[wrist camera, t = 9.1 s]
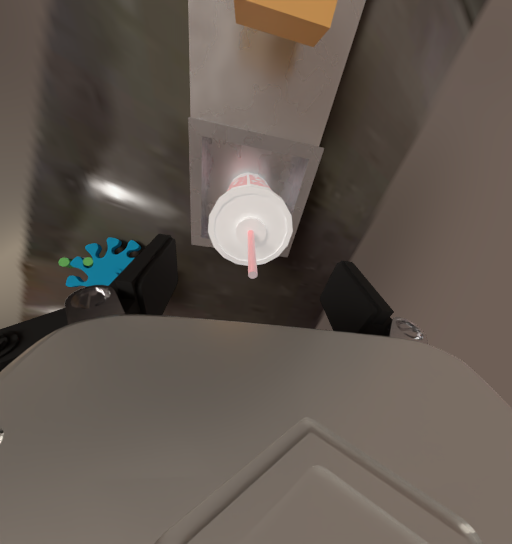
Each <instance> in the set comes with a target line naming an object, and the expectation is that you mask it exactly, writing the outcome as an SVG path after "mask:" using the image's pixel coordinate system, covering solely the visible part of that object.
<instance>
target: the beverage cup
mask: <svg viewBox="0 0 512 544" xmlns="http://www.w3.org/2000/svg"><path fill="white" fill-rule="evenodd" d="M292 232H293V228H292V215H291V214H290V212H289V210H288V208H287V206H286V204H285V203H284V201H283V199H282V198H281V197H280V196H278V195H277V194H276V193H274V192H273V191H272V190H271V188H270V187H269V186H268V184H267V183H266V181H265V180H264V179H263V178H261V177H260V176H259V175H258V174H253V173H244V174H240V175H239V176H237V177H236V178H235V179H233V181H232V183H231V184H230V186H229V188H228V190H227V192H226V193H225V194H223V195H222V196H221V197H219V199H218V200H217V202H216V204H215V206H214V207H213V209H212V211H211V213H210V215H209V224H208V233H209V236H210V239H211V241H212V244H213V246H214V248H215V249H216V250H217V251H218V252H219V253H220V254H221V255H222V256H223V257H224V258H226V259H228V260H230V261H232V262H234V263H236V264H240V265H247V266H248V276H249V277H250V278H252V279H253V278H256V277H257V265H260V264H265V263H267V262H269V261H271V260H273V259H274V258H276V257H278V256H279V255H280V254H281V253H282V251H283V250H284V249H285V248H286V247H287V246H288V243H289V240H290V238H291V235H292Z"/></svg>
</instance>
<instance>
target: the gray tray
mask: <svg viewBox="0 0 512 544" xmlns="http://www.w3.org/2000/svg"><path fill="white" fill-rule="evenodd" d="M365 2H366V0H337V4H336V8H335V12H334V15H333V19H332V23H331V27H330V29H329V30H328V31H327V32H326V33H325V35H324V36H323V37H322V38H321V39H320V40H319V42H318V43H317V44H316V45H315V46H314V47H311V46H308V45H304V44H301V43H298V42H295V41H291V40H288V39H285V38H282V37H278V36H275V35H272V34H269V33H266V32H262V31H259V30H256V29H253V28H249V27H246V26H243V25H240V24H236V19H235V8H234V0H188V7H189V57H190V108H191V117H188V121H189V160H190V200H191V239H192V245H199V246H207V247H214V246H213V244H212V241H211V239H210V236H209V233H208V224H209V215H210V213H211V211H212V209H213V207H214V206H215V204H216V202H217V200H218V199H219V197H221V196H222V195H223V194H225V193H226V192H227V190H228V188H229V186H230V184H231V183H232V181H233V179H235V178H236V177H237V176H239V175H240V174H244V173H253V174H258V175H259V176H260V177H261V178H263V179H264V180H265V181H266V183H267V184H268V186H269V187H270V188H271V190H272V191H273V192H274V193H276V194H277V195H278V196H280V197H281V198H282V199H283V201H284V203H285V204H286V206H287V208H288V210H289V212H290V214H291V215H292V228H293V232H292V235H291V238H290V240H289V243H288V246H287V247H286V248H285V249H284V250H283V251H282V253H281V254H280V255H279V256H282V257H288V254H289V251H290V248H291V246H292V243H293V240H294V237H295V234H296V231H297V228H298V225H299V222H300V219H301V216H302V213H303V210H304V207H305V204H306V201H307V198H308V195H309V192H310V189H311V186H312V183H313V180H314V177H315V175H316V172H317V169H318V166H319V163H320V160H321V157H322V154H323V151H324V148H322V147H319V145H320V141H321V138H322V135H323V132H324V129H325V126H326V123H327V120H328V117H329V114H330V110H331V107H332V104H333V101H334V98H335V95H336V92H337V89H338V86H339V82H340V79H341V76H342V73H343V70H344V67H345V64H346V61H347V58H348V54H349V51H350V48H351V45H352V42H353V39H354V36H355V33H356V30H357V26H358V23H359V20H360V17H361V14H362V11H363V8H364V5H365Z"/></svg>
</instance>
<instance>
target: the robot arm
mask: <svg viewBox="0 0 512 544" xmlns="http://www.w3.org/2000/svg"><path fill="white" fill-rule="evenodd" d="M177 282H178V273H177V258H176V244H175V239H172V237H171V236H170V235H164V234H158V235H157V236H156V237H155V238H154V239H153V240H152V241H151V242H150V244H149V245H148V246H147V247H146V248H145V249H144V250H143V251H142V252H141V253H140V254H139V255H138V256H136V257H135V258H134V259H133V260H132V261H131V262H130V264H129V265H128V266H127V267H126V268H125V269H124V270H123V271H122V272H121V273H120V274H119V275H118V276H117V277H116V278H115V279H114V280H113V281H112V283H111V284H110V285H109V286H106V285H92V286H87V287H84V288H81V289H79V290H77V291H75V292H73V293H72V294H71V295H69V296H68V298H67V299H66V300H65V308H63V309H60V310H57V311H54V312H51V313H48V314H45V315H42V316H39V317H36V318H33V319H30V320H27V321H24V322H21V323H18V324H15V325H12V326H9V327H6V328H3V329H0V544H512V408H511V407H510V406H509V405H508V404H507V403H506V402H505V401H504V400H503V399H502V398H501V397H500V396H499V395H498V394H497V393H496V392H495V391H494V390H493V389H492V388H491V387H490V386H489V385H488V384H487V383H486V382H485V381H484V380H483V379H482V378H481V377H480V376H479V375H478V374H477V373H476V372H475V371H473V370H472V369H471V368H470V367H469V366H468V365H467V364H465V363H464V362H463V361H462V360H460V359H459V358H457V357H455V356H453V355H451V354H449V353H447V352H445V351H443V350H441V349H438V348H436V347H433V346H431V345H428V340H427V336H426V334H425V333H424V331H422V329H421V328H420V327H418V326H417V325H416V324H414V323H413V322H411V321H409V320H407V319H405V318H401V317H395V318H393V319H391V318H390V316H391V315H392V313H394V311H393V310H392V309H391V308H390V307H389V305H388V304H387V303H386V302H385V301H384V299H383V298H382V297H381V296H380V295H379V293H378V292H377V291H376V290H375V289H374V287H373V286H372V285H371V284H370V283H369V282H368V280H367V279H366V278H365V277H364V275H363V274H362V273H361V272H360V271H359V269H358V268H357V267H356V266H355V265H354V264H353V263H352V262H348V261H341V262H340V263H337V265H336V267H335V268H334V270H333V272H332V274H331V276H330V278H329V280H328V282H327V284H326V286H325V288H324V290H323V292H322V294H321V296H320V301H321V304H322V306H323V308H324V310H325V313H326V315H327V317H328V319H329V322H330V324H331V326H332V329H333V331H330V330H319V329H309V328H299V327H288V326H278V325H267V324H256V323H245V322H234V321H222V320H211V319H200V318H188V317H177V316H162V314H163V312H164V310H165V308H166V306H167V304H168V302H169V300H170V298H171V296H172V294H173V292H174V290H175V288H176V285H177Z"/></svg>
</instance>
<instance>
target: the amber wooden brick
mask: <svg viewBox="0 0 512 544" xmlns="http://www.w3.org/2000/svg"><path fill="white" fill-rule="evenodd" d="M336 4H337V0H234V8H235V19H236V24H240V25H243V26H246V27H249V28H253V29H256V30H259V31H262V32H266V33H269V34H272V35H275V36H278V37H282V38H285V39H288V40H291V41H295V42H298V43H301V44H304V45H308V46H311V47H314V46H315V45H316V44H317V43H318V42H319V40H320V39H321V38H322V37H323V36H324V35H325V33H326V32H327V31H328V30H329V29H330V27H331V23H332V19H333V15H334V12H335V8H336Z"/></svg>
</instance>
